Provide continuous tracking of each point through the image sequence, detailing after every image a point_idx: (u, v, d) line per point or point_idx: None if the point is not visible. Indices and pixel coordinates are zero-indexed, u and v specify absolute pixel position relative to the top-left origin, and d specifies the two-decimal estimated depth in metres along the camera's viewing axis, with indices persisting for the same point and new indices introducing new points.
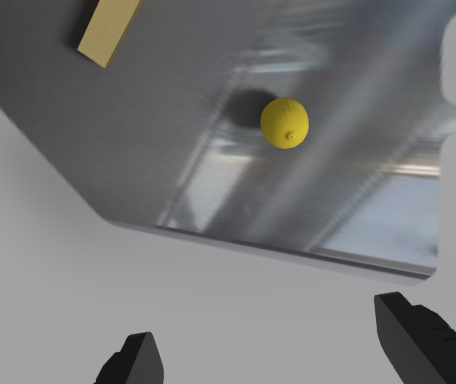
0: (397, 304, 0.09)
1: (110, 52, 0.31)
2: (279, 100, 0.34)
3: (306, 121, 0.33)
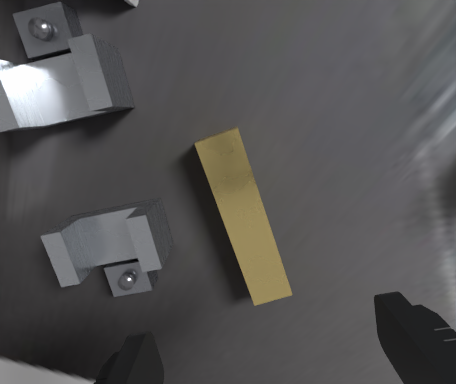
0: (397, 304, 0.09)
1: (283, 274, 0.22)
2: None
3: None
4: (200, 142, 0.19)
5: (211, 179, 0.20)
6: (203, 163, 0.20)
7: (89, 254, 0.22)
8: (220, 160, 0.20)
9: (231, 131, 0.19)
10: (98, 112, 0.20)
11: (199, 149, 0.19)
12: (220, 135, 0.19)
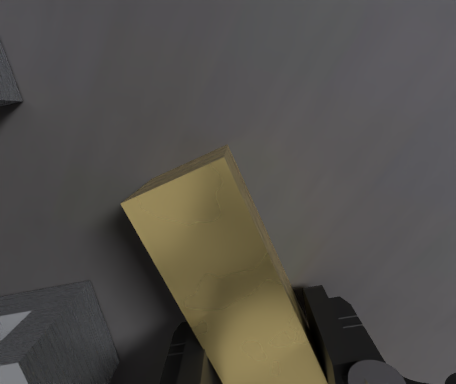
0: (316, 296, 0.10)
1: None
2: None
3: None
4: (135, 200, 0.08)
5: (174, 282, 0.08)
6: (150, 247, 0.08)
7: None
8: (189, 239, 0.08)
9: (209, 166, 0.07)
10: None
11: (135, 216, 0.08)
12: (182, 178, 0.07)
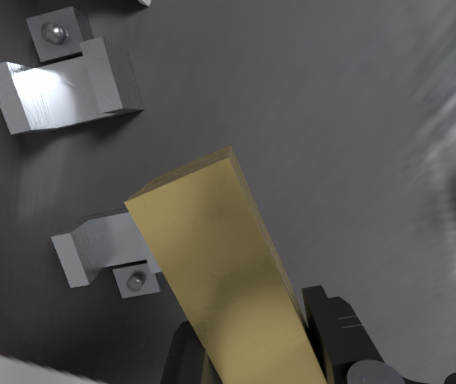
0: (316, 296, 0.10)
1: None
2: None
3: None
4: (138, 199, 0.08)
5: (176, 281, 0.08)
6: (153, 246, 0.08)
7: (98, 255, 0.23)
8: (192, 238, 0.08)
9: (213, 166, 0.07)
10: (108, 114, 0.20)
11: (138, 215, 0.08)
12: (186, 178, 0.08)
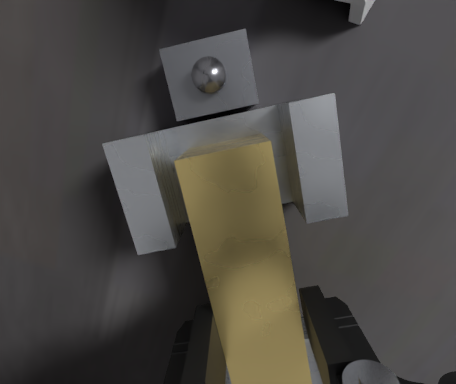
0: (312, 296, 0.10)
1: None
2: None
3: None
4: (187, 160, 0.09)
5: (201, 237, 0.10)
6: (188, 204, 0.09)
7: None
8: (223, 203, 0.09)
9: (256, 146, 0.09)
10: None
11: (183, 174, 0.09)
12: (231, 151, 0.09)
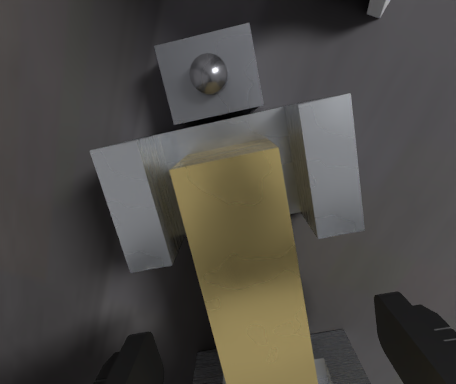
0: (397, 304, 0.09)
1: None
2: None
3: None
4: (184, 169, 0.08)
5: (200, 255, 0.09)
6: (186, 218, 0.08)
7: None
8: (225, 217, 0.08)
9: (262, 153, 0.08)
10: None
11: (180, 185, 0.08)
12: (234, 159, 0.08)
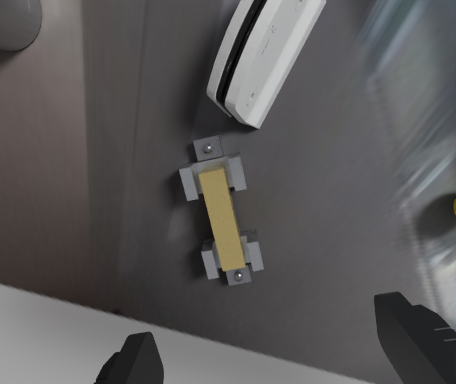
0: (397, 304, 0.09)
1: (241, 254, 0.37)
2: None
3: None
4: (201, 174, 0.34)
5: (205, 194, 0.35)
6: (202, 185, 0.35)
7: (217, 261, 0.40)
8: (211, 185, 0.35)
9: (219, 170, 0.34)
10: (230, 186, 0.38)
11: (200, 177, 0.35)
12: (213, 171, 0.34)
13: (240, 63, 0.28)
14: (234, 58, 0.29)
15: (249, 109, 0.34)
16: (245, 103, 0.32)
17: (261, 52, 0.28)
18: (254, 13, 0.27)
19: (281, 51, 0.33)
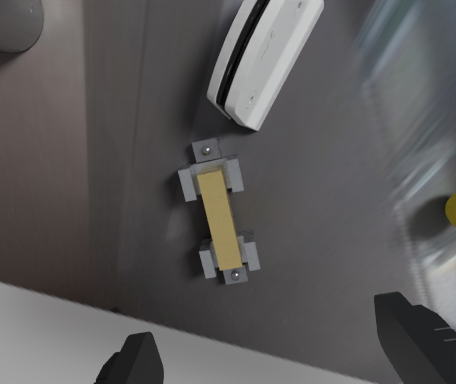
0: (397, 304, 0.09)
1: (238, 254, 0.38)
2: (455, 202, 0.36)
3: None
4: (200, 175, 0.35)
5: (203, 195, 0.36)
6: (200, 186, 0.36)
7: (215, 261, 0.41)
8: (209, 186, 0.36)
9: (217, 171, 0.35)
10: (228, 187, 0.39)
11: (199, 179, 0.35)
12: (211, 173, 0.35)
13: (240, 68, 0.28)
14: (234, 63, 0.29)
15: (248, 112, 0.34)
16: (244, 106, 0.32)
17: (260, 58, 0.29)
18: (253, 20, 0.28)
19: (280, 55, 0.33)
